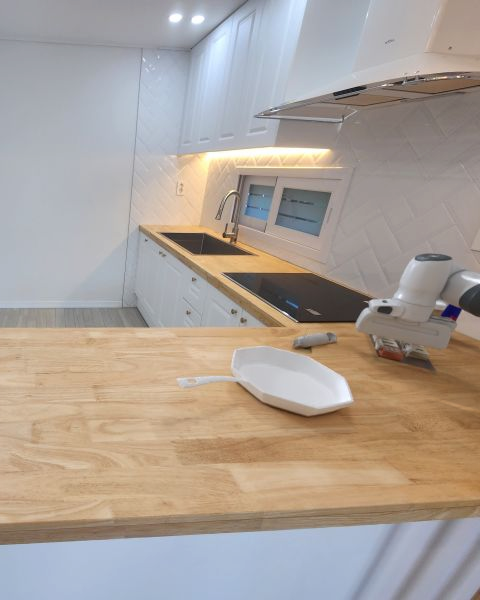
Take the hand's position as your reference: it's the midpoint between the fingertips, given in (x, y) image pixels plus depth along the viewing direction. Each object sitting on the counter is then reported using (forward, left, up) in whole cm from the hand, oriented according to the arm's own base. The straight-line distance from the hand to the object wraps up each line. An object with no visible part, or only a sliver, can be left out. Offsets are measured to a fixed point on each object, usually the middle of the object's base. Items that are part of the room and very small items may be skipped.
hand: (390, 352), depth 101 cm
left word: (0, -8, -1) cm, 8 cm away
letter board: (-3, -8, -2) cm, 9 cm away
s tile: (0, 0, -1) cm, 1 cm away
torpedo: (+20, +5, -2) cm, 20 cm away
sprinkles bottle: (-12, -25, -2) cm, 28 cm away
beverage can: (-17, -30, -2) cm, 35 cm away
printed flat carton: (-7, -11, -1) cm, 13 cm away
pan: (+33, +44, -2) cm, 55 cm away
